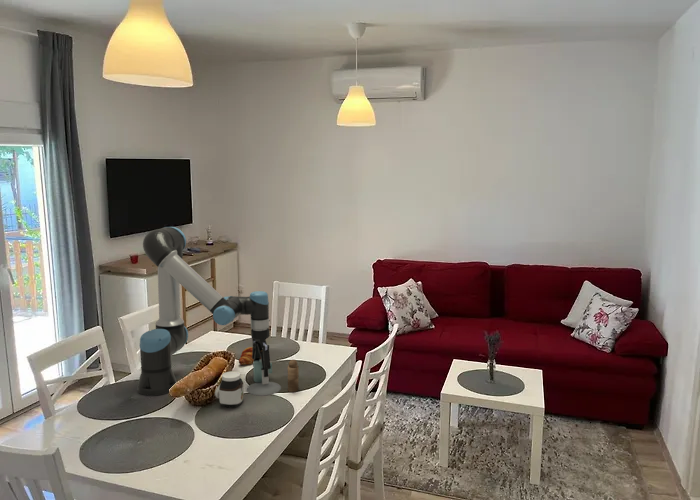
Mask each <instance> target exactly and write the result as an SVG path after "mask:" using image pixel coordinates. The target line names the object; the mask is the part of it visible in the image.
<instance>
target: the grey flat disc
mask: <svg viewBox="0 0 700 500" xmlns="http://www.w3.org/2000/svg"><path fill="white" fill-rule="evenodd" d="M245 389H246V392H247V393H248V394H250V395H253V396H261V397H263V396H270V395H274V394H275V395H276V394H277V393H278V392H280V391H281V390H282V385H280V384H279V383H277V382H275V381H269V384H264V385H263V384H262V382H261V383H258V382H254V383H252V384H249V385H247V387H246V388H245Z"/></svg>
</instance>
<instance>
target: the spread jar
mask: <svg viewBox="0 0 700 500" xmlns="http://www.w3.org/2000/svg"><path fill="white" fill-rule="evenodd" d="M214 396H215V398H217V399H219V403H220V405H221V406H223V407H224V408H236V407H238V406H239V407H240V406H241V404H242V403H243V400H244V381H243V379H242V378H241V373H240V372H239V371H226V372H223V373H222V374H221V382H220V383H219V385H218V386H217V387H216V389H215V392H214Z"/></svg>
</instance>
